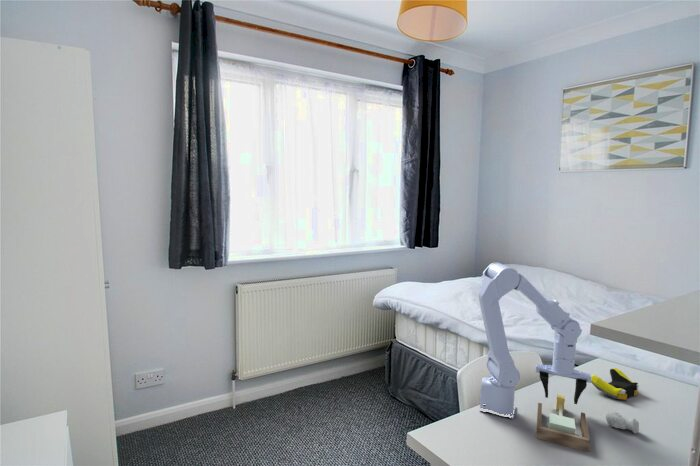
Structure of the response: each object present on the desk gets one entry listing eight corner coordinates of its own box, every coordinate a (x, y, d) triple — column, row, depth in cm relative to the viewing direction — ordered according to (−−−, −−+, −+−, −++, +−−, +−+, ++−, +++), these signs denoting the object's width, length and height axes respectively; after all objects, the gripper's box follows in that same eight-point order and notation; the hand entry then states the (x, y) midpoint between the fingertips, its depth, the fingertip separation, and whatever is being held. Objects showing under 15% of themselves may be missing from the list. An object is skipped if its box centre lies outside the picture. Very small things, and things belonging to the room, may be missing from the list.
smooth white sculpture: (602, 427, 113) (611, 417, 115) (633, 442, 106) (643, 431, 108) (600, 414, 112) (610, 404, 114) (632, 428, 105) (641, 418, 107)
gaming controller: (586, 390, 131) (618, 405, 123) (587, 374, 131) (619, 388, 122) (612, 380, 138) (644, 393, 130) (613, 365, 138) (645, 377, 129)
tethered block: (548, 436, 106) (549, 422, 106) (548, 405, 122) (549, 392, 121) (574, 443, 103) (575, 428, 103) (571, 410, 119) (572, 397, 119)
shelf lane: (536, 438, 105) (536, 427, 105) (537, 412, 118) (538, 402, 117) (588, 451, 100) (589, 440, 100) (584, 423, 112) (585, 413, 112)
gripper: (591, 355, 118) (587, 398, 119) (537, 346, 124) (534, 387, 126) (593, 364, 112) (589, 410, 113) (536, 355, 118) (534, 398, 120)
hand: (560, 399), depth 119 cm, fingers open, 7 cm apart
